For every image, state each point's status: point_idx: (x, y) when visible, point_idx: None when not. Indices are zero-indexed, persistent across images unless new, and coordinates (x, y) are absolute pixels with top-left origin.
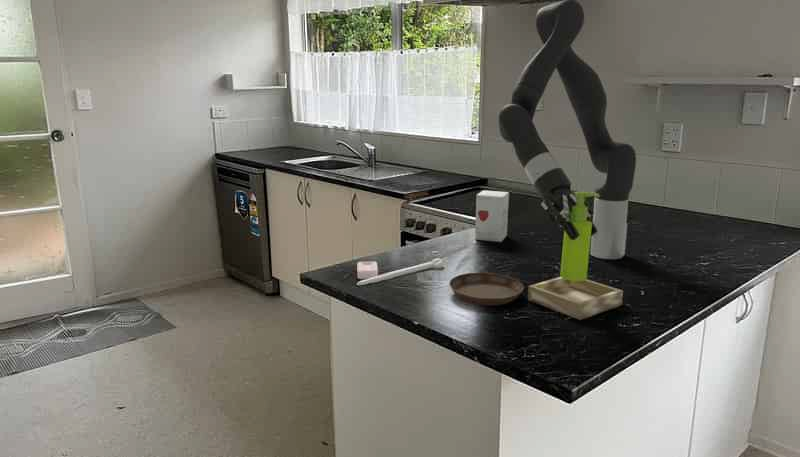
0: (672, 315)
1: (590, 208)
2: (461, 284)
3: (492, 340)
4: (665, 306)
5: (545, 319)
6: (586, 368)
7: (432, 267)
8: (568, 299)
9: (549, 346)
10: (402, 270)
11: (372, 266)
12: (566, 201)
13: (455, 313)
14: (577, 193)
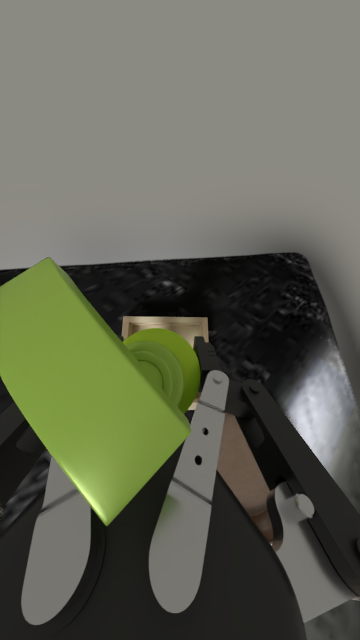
0: (116, 274)
1: (16, 410)
2: (256, 518)
3: (311, 340)
4: (95, 290)
5: (232, 345)
6: (273, 261)
7: None
8: (206, 337)
9: (273, 301)
10: None
11: None
12: (181, 483)
13: (312, 424)
14: (172, 412)
